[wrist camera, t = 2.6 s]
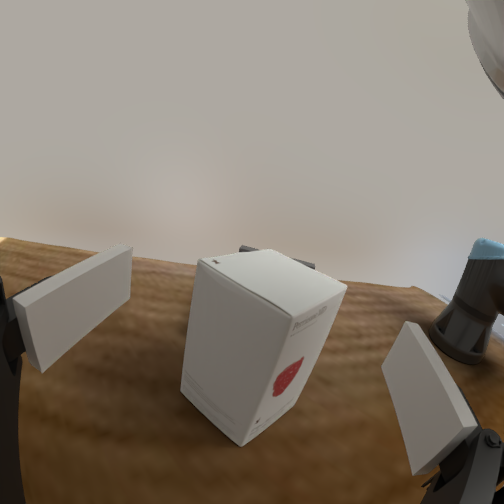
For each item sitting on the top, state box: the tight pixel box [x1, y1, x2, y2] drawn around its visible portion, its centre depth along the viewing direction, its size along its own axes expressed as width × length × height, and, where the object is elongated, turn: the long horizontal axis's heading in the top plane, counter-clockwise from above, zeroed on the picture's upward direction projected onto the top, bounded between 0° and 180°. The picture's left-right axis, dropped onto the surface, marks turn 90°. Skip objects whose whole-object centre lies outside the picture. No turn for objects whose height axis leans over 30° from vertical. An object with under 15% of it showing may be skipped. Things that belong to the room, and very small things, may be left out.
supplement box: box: [180, 249, 347, 447], centre depth 23 cm, size 9×9×15 cm
